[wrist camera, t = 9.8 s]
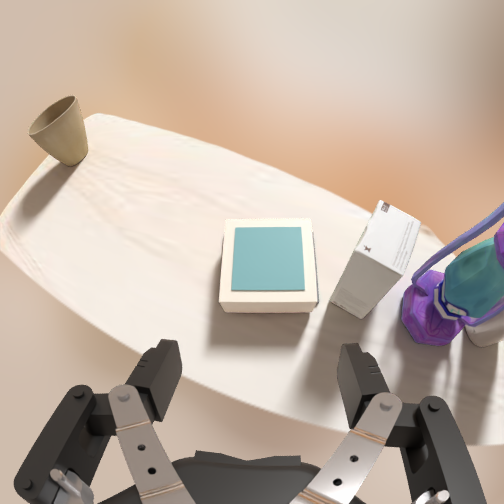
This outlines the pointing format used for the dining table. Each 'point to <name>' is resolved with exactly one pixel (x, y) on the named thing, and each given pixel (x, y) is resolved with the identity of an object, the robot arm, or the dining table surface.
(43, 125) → the plant pot
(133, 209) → the dining table surface
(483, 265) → the lantern
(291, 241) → the block
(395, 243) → the skincare box
